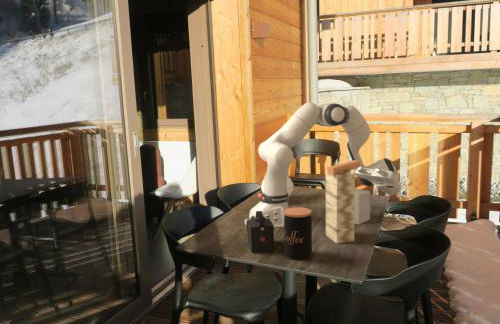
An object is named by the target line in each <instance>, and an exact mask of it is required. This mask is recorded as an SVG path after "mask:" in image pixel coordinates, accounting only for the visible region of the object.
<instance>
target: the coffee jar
mask: <svg viewBox="0 0 500 324" xmlns="http://www.w3.org/2000/svg"><path fill="white" fill-rule="evenodd" d="M284 214H285V216H284V227H283V228H284V229H283V239H284V240H283V241H284V247H283V249H284V255H285V256H286V257H287V258H288V259H290V260H296V261H297V260H299V261H301V260H306V259H308V258H310V257H311V255H312V254H313V246H312V245H313V240H312V239H313V231H312V230H313V227H312V226H313V225H312V221H313V220H312V219H313V218H312V216H311V215H312V210H311V209H309V208H307V207H300V206H299V207H298V206H296V207H295V206H294V207H288V209H285V210H284Z"/></svg>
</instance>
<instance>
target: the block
mask: <svg viewBox="0 0 500 324" xmlns="http://www.w3.org/2000/svg"><path fill="white" fill-rule="evenodd" d="M357 168H360V161H357V160H353V161H352V160H350V161H346V162H343V163H342V162H341V163H339V164H334V165H331V166H327V167H326V170H327V175H337V174H338V172H340V171H344V170H347V169H351V171H353V170H354V171H355V169H357Z"/></svg>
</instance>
